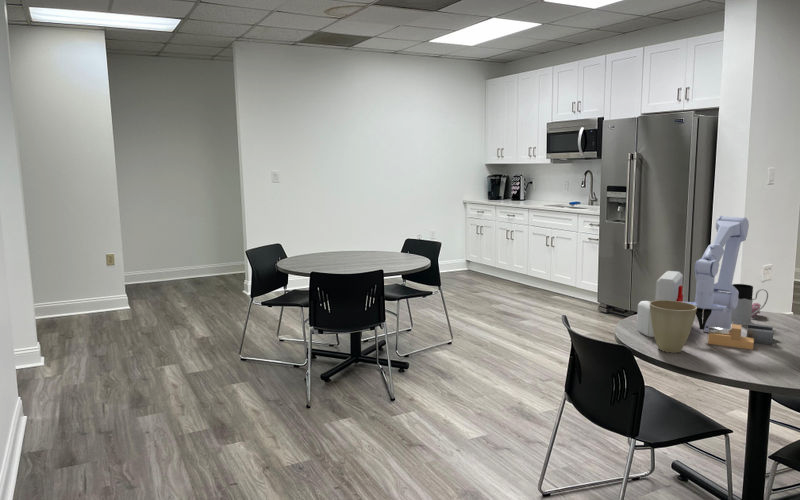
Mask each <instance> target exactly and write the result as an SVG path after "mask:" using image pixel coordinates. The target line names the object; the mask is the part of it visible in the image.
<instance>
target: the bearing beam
mask: <svg viewBox="0 0 800 500" xmlns="http://www.w3.org/2000/svg"><path fill="white" fill-rule="evenodd" d="M742 326H743V325H738V324H733V323H731V335H723V334H715V333H709V332H708V338H707V339H708V340H707V344H708V343H709V344H710V345H715V346H724V347H731V348H739V349H746V350H754V344H755V343H754V338H749V337H747V336H742ZM709 344H708V345H709Z"/></svg>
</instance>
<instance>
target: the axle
mask: <svg viewBox="0 0 800 500" xmlns="http://www.w3.org/2000/svg"><path fill="white" fill-rule="evenodd" d="M731 329H732V328H731ZM731 329H726V328H717V327H709V332H708V334H709V333H715V334H723V335H731Z"/></svg>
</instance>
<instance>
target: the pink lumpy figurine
mask: <svg viewBox="0 0 800 500" xmlns="http://www.w3.org/2000/svg"><path fill="white" fill-rule="evenodd" d="M761 307H762V305H761V303H759V302H754V303H752V313H751V314H753V313H754V312H755V311H757V310H758V309H760V308H761ZM757 314H761V310H759V311H758V312H756V313H755V314H754V315H752V317H751V318H755V316H757Z"/></svg>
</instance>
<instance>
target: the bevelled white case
mask: <svg viewBox="0 0 800 500" xmlns="http://www.w3.org/2000/svg"><path fill="white" fill-rule="evenodd" d="M683 276H684V274H683V273H681V271H676V270H675V271H674V270H667V271H665V273H663V274H662V275H661V276H660V277H659V278H658V279H657V280H656V283H655V295H654V296H655V299H654V301H656V300H670V301H679V302H684V301H683V300H684V295H683V287H684V286H683Z"/></svg>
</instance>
